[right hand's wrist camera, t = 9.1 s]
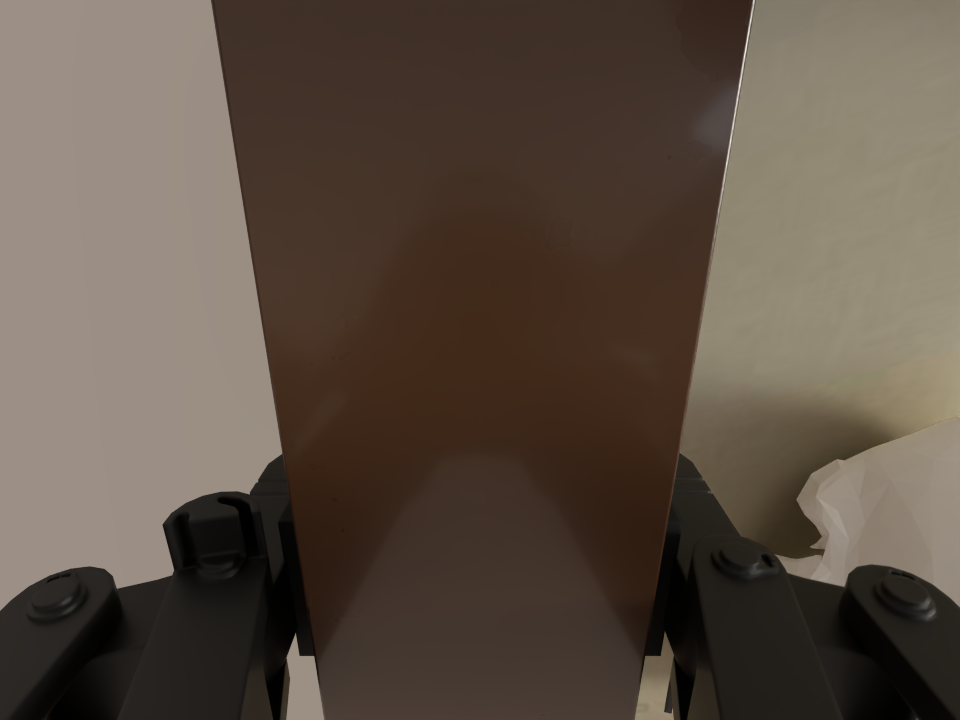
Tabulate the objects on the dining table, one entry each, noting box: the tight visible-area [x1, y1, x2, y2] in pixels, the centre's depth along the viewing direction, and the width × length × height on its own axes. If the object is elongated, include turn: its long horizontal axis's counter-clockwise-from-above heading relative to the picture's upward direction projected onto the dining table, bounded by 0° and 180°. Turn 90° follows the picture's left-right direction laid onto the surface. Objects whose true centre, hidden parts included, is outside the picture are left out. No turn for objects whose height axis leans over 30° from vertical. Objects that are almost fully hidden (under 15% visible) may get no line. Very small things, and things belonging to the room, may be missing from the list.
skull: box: [774, 416, 960, 607], centre depth 22 cm, size 13×22×16 cm, turn 158°
